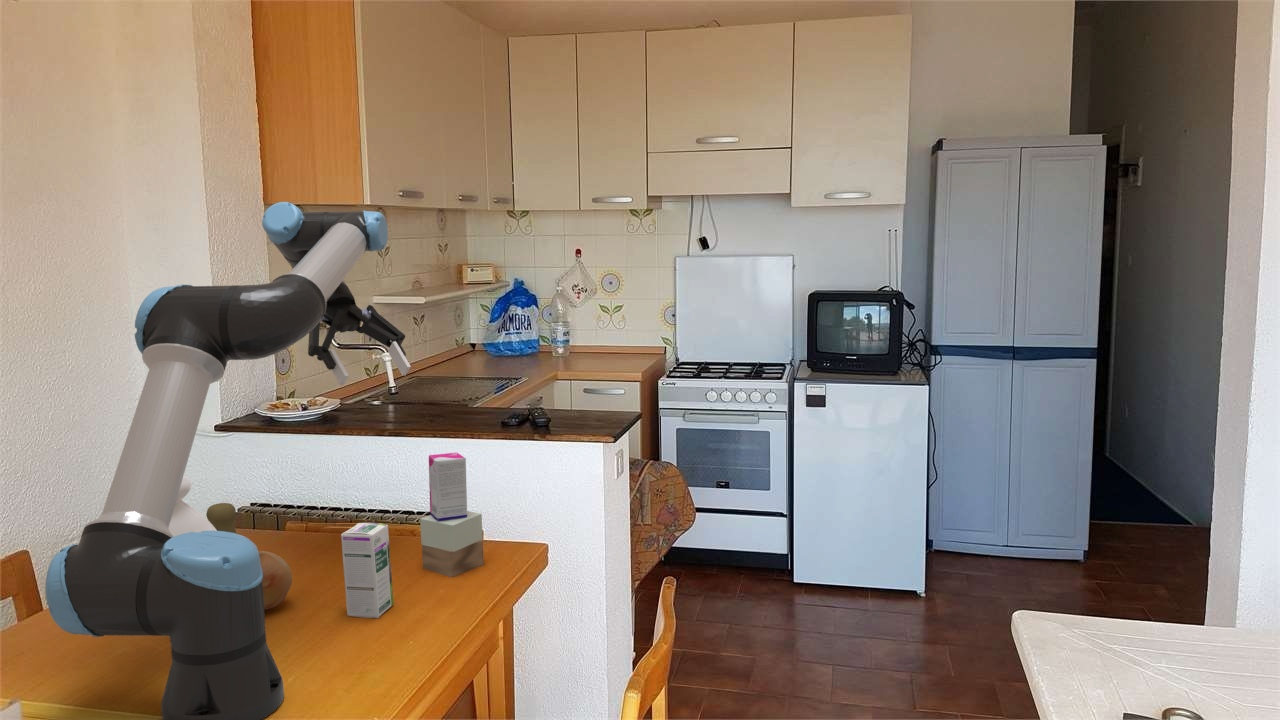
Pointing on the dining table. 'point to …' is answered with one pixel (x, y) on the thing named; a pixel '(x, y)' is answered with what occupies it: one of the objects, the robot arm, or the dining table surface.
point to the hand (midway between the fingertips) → (376, 375)
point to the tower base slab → (453, 559)
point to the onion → (274, 579)
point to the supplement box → (447, 486)
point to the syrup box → (367, 570)
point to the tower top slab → (451, 532)
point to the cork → (222, 517)
